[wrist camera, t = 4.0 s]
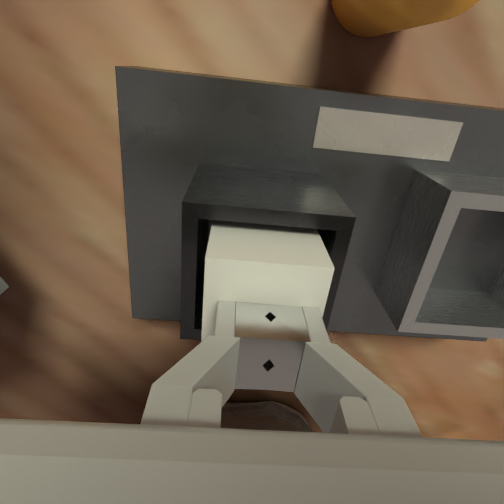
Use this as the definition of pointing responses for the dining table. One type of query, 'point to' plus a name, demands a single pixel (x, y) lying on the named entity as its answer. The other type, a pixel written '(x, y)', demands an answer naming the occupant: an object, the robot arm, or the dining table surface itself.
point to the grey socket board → (317, 197)
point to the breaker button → (264, 267)
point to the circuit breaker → (3, 286)
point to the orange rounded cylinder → (394, 14)
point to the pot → (262, 417)
